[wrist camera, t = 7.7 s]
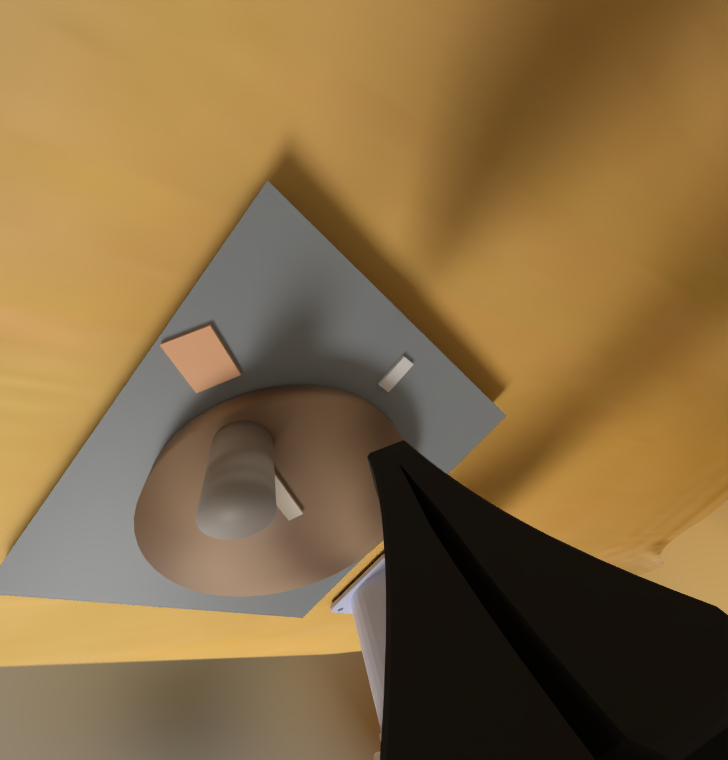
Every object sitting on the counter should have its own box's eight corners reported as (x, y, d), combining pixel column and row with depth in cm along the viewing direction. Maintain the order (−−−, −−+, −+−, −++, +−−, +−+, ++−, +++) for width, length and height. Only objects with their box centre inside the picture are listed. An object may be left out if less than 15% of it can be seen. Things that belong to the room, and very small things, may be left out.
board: (491, 404, 21) (508, 417, 20) (300, 597, 25) (302, 620, 23) (266, 186, 11) (267, 179, 10) (4, 562, 15) (-23, 598, 13)
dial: (370, 339, 14) (421, 391, 9) (421, 506, 21) (462, 577, 17) (65, 467, 12) (-45, 603, 8) (238, 599, 19) (232, 705, 15)
